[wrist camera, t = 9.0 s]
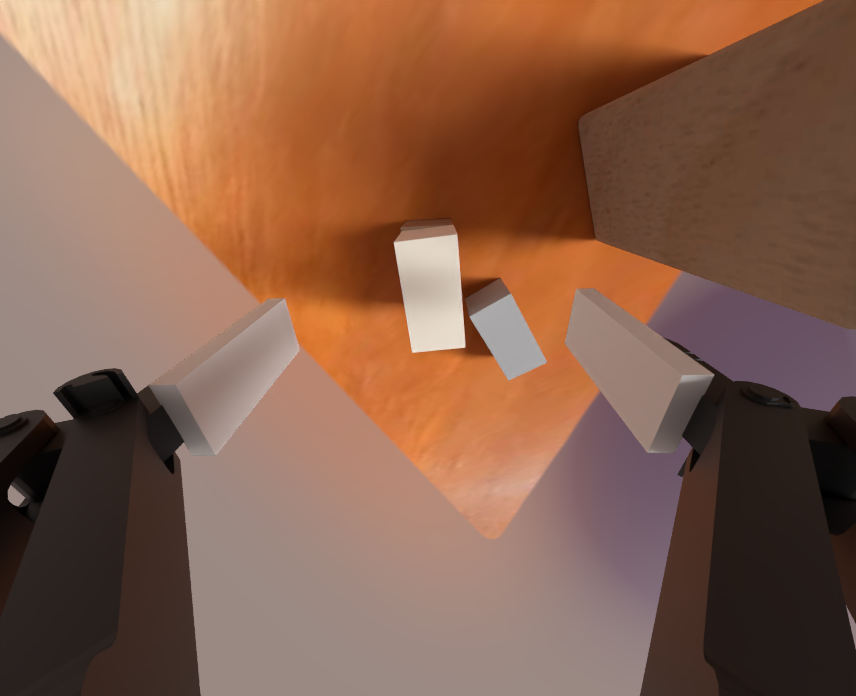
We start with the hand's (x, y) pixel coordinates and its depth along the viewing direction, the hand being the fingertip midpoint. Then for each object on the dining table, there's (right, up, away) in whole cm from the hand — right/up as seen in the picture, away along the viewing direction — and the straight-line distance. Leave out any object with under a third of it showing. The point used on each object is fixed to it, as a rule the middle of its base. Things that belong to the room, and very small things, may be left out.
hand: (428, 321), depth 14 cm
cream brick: (0, +4, +11) cm, 12 cm away
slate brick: (+8, +2, +18) cm, 20 cm away
